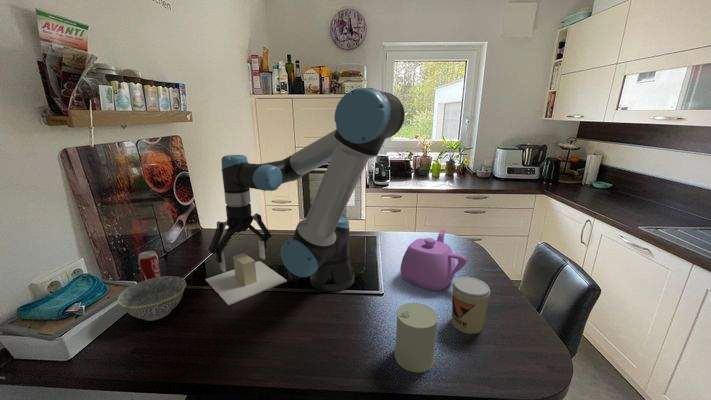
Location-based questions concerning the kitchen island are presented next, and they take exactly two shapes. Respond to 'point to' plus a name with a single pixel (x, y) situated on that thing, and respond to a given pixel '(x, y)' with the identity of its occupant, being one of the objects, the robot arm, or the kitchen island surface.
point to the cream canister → (469, 304)
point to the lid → (244, 279)
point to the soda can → (149, 265)
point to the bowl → (152, 297)
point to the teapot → (430, 263)
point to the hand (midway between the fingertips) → (243, 263)
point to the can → (415, 337)
